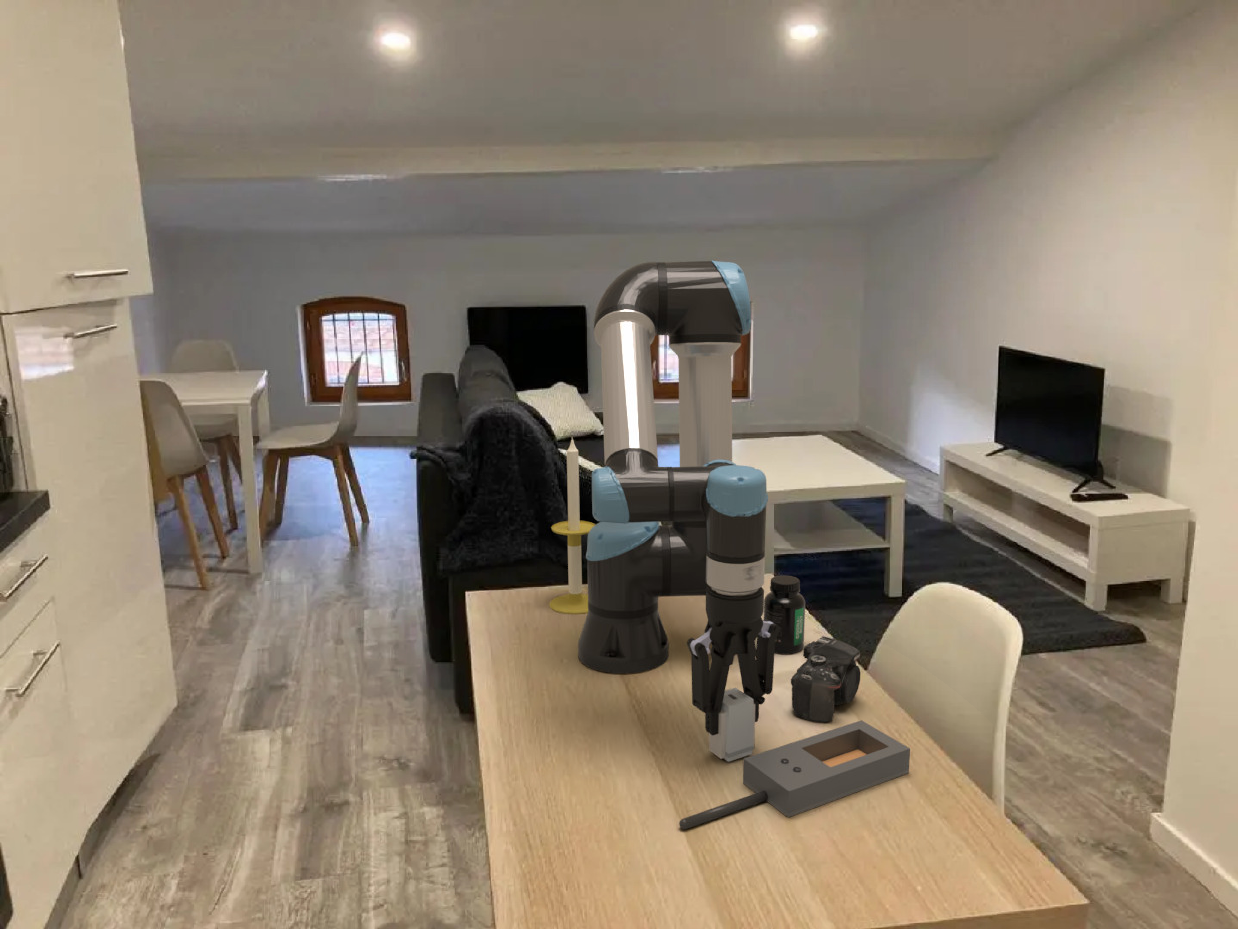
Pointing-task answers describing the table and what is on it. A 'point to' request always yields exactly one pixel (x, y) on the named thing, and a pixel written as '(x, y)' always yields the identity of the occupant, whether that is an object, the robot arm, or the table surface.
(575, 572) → the candle
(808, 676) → the camera
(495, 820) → the table surface
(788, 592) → the supplement bottle
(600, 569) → the robot arm
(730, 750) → the block
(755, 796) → the power strip
